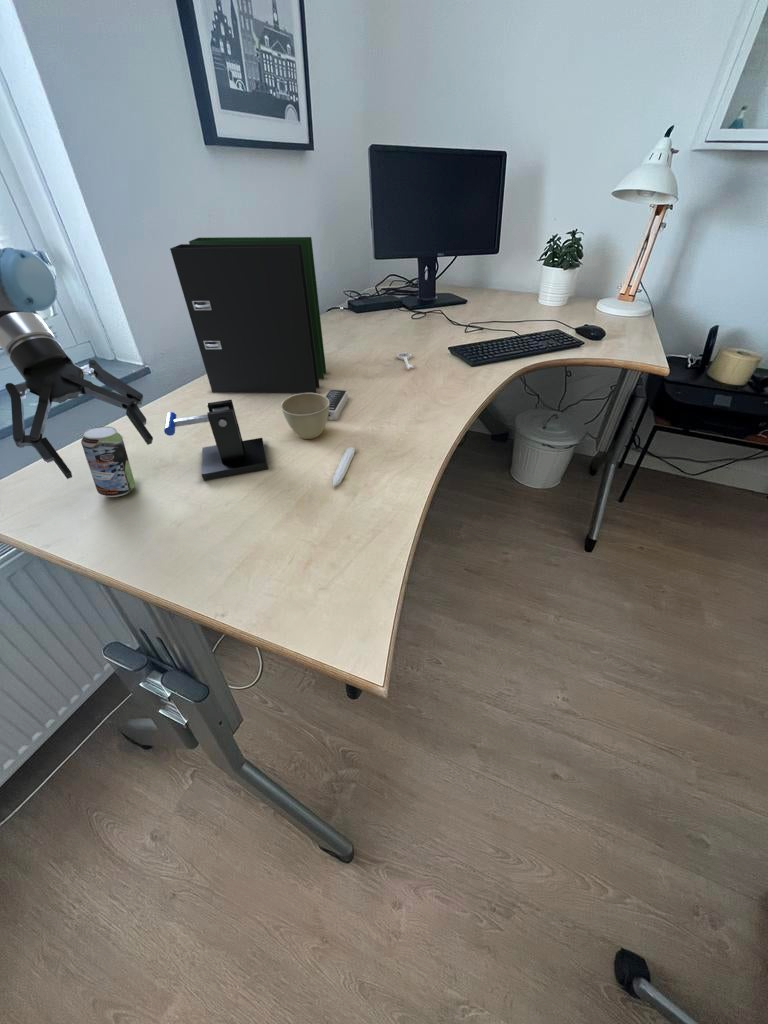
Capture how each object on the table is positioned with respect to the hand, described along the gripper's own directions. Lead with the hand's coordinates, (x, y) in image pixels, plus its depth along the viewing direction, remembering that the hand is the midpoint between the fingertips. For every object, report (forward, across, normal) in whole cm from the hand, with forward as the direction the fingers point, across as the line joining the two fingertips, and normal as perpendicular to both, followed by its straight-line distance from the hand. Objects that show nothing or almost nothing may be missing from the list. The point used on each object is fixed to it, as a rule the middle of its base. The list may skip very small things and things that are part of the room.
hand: (112, 457), depth 74 cm
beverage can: (+4, 0, -7) cm, 8 cm away
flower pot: (+12, -35, +1) cm, 37 cm away
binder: (-8, -47, -19) cm, 51 cm away
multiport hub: (+9, -47, -2) cm, 48 cm away
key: (+6, -80, -5) cm, 80 cm away
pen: (+23, -30, +12) cm, 40 cm away
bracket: (+10, -19, -2) cm, 21 cm away
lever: (+2, -15, +3) cm, 15 cm away
